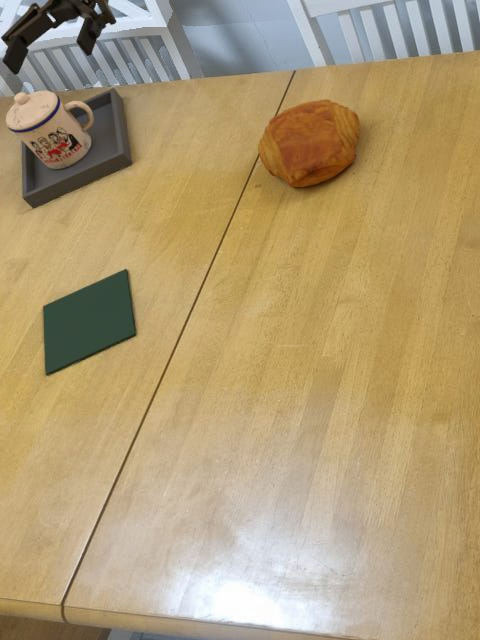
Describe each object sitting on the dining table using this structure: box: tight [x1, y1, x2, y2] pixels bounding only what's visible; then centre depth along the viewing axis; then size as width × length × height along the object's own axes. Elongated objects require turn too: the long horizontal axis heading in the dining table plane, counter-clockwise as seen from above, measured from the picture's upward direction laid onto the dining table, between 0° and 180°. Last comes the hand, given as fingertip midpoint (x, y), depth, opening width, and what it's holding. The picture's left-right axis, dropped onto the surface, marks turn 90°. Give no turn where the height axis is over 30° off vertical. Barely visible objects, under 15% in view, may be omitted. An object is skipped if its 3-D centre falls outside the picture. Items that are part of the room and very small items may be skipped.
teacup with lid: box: [5, 90, 94, 169], centre depth 119 cm, size 12×9×12 cm
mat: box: [42, 268, 137, 376], centre depth 102 cm, size 13×13×1 cm
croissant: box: [257, 98, 361, 188], centre depth 108 cm, size 14×16×8 cm
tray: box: [20, 87, 133, 209], centre depth 124 cm, size 18×20×2 cm
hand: (46, 58), depth 120 cm, fingers open, 13 cm apart
